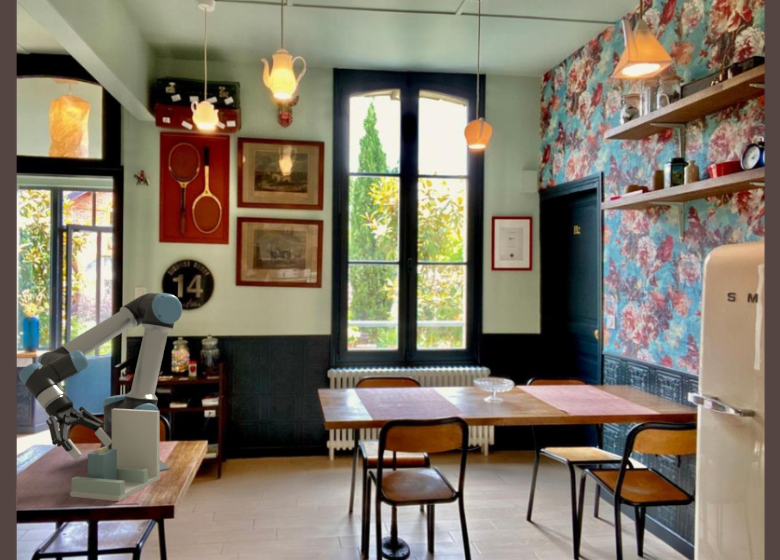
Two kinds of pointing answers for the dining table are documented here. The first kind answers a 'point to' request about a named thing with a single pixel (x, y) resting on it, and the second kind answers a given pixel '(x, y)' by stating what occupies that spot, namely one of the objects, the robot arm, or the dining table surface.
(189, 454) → the dining table surface
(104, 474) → the teal block with bar
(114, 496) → the pale green rail stand
